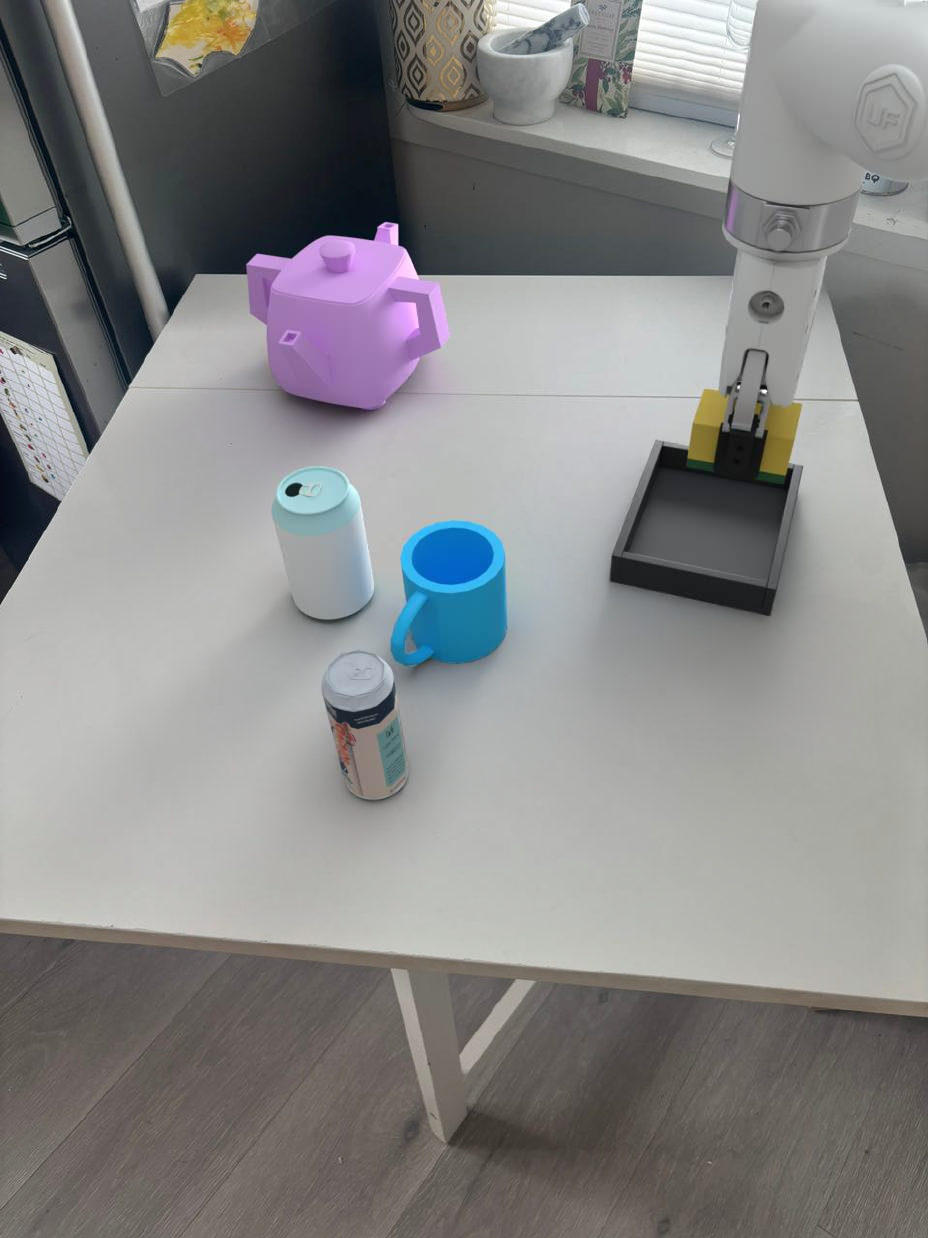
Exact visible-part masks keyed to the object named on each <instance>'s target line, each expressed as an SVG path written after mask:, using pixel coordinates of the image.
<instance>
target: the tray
mask: <svg viewBox="0 0 928 1238" xmlns="http://www.w3.org/2000/svg"><path fill="white" fill-rule="evenodd" d="M688 451H689V444H683V443H679V442H678V443H677V442H672V441H666V440H661V439H655V440H654V443H653V445H652V448H651V450H650V453H649V455H648V458H647V461H646V464H645V466H644V469H643V471H642V474H641V477H640V480H639V482H638V485H637V488H636V490H635V492H634V495H633V498H632V501H631V503H630V505H629V509H628V512H627V514H626V517H625V519H624V522H623V525H622V527H621V530H620V533H619V535H618V538H617V540H616V543H615V545H614V548H613V551H612V553H611V559H610V572H609V574H610V575H609V582H611V583H617V584H621V585H626V586H630V587H636V588H640V589H644V590H649V591H652V592H653V591H654V592H657V593H663V594H667V595H673V596H677V597H682V598H685V599H691V600H695V601H700V602H704V603H709V604H714V605H717V606H724V607H727V608H732V609H736V610H742V611H747V612H751V613H754V614H759V615H764V616H769V617H770V616H771V614H772V609H773V606H774V602H775V599H776V594H777V591H778V586H779V581H780V577H781V572H782V567H783V562H784V559H785V554H786V550H787V544H788V539H789V535H790V531H791V525H792V521H793V516H794V513H795V507H796V503H797V498H798V494H799V488H800V484H801V480H802V476H803V470H804V465H803V464H798V463H797V464H796V463H795V464H794V463H791V462H789V464H788V468H787V473H786V477H785V481H784V484H779V483H773V482H767V481H762V480H756V479H749V478H744V477H738V476H733V475H727V474H721V473H717V472H712V471H706V470H700V469H695V468H689V467H687V466H686V465H687V458H688Z"/></svg>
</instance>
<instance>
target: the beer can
mask: <svg viewBox="0 0 928 1238" xmlns="http://www.w3.org/2000/svg"><path fill="white" fill-rule="evenodd" d="M320 685H321V686H320V687H321V694H322V698H323V701H324V705H325V709H326V713H327V718H328V721H329V722H328V723H329V725H330V729H331V733H332V737H333V741H334V745H335V750H336V754H337V757H338V760H339V765H340V769H341V774H342V777H343V781H344V783H345V785H346V787H347V789H348V790H349V791H350V793H352V794H353V795H354V796H356V797H358V798H361V799H364V800H371V801H375V800H382V799H386V798H388V797H391V796H392V795H394V794H396V793H397V792H398V791H400V789H401V788H402V787H403V786H404V785H405V783H406V781H407V778H408V776H409V763H408V757H407V751H406V745H405V738H404V732H403V727H402V726H403V725H402V721H401V712H400V708H399V707H400V706H399V701H398V694H397V690H396V683H395V678H394V673H393V669H392V668H391V666H390V665H389V664H388V663H387V662H386V661H385V660H384V659H382V658H381V657H380V656H379V655H377V653H376V652H371V651H369V650H364V649H360V648H358V649H355V650H350V651H347V652H343V653H340V654H339V655H337V657H336V658H334V659H333V660H332V661H331V662H330V663H328V665H327V668H326V669H325V671H324V674H323V675H322V678H321V684H320Z"/></svg>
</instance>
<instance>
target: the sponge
mask: <svg viewBox="0 0 928 1238" xmlns="http://www.w3.org/2000/svg"><path fill="white" fill-rule="evenodd" d="M728 397H729V395H727V397H726V398H724V397H723V396H722V395H721V394H720V392H719V389H718V390H717V389H710V388H703V391H702V394H701V396H700V400H699V403H698V405H697V409H696V412H695V414H694V418H693V421H692V424H691V430H690V431H691V432H690V439H689V444H688V445H689V451H688V458H687V465H686V466H687V467H689V468H695V469H700V470H706V471H712V472H715V471H714V470H713V464H714V458H715V453H716V447H717V441H718V435H719V430H720V425H721V422H723V423H724V418H725V413H726V407H727V402H728ZM736 403H737V401H736ZM761 405H762V404H761V403H757V404H756V409H755V414H758V416H759V414H760V410H761ZM735 408H736V406H735ZM802 408H803V403H800V402H794V401H793V402H792V403H791V404H790V405H789V406H787V407H786V408H782V406H776V405H772V403H771V402H770V407H769V411H768V416H767V420H766V425H765V430H768V434H767V438H766V443H765V448H764V452H763V457H762V461H761V466H760V470H759V474H758V477H757V478H755V479H756V480H762V481H767V482H773V483H779V484H784V481H785V477H786V473H787V468H788V464H789V463H790V460H791V456H792V452H793V448H794V444H795V439H796V435H797V431H798V426H799V421H800V417H801V411H802ZM758 419H759V418H758Z"/></svg>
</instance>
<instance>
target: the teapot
mask: <svg viewBox="0 0 928 1238" xmlns="http://www.w3.org/2000/svg"><path fill="white" fill-rule="evenodd" d="M376 227H377V231H376V233H375V236H374V239H373V240H370V239H365V238H357V237H349V236H339V235H324V236H322V237H320V238H317V239H315V240H314V241H312V242H311V243H310V244H308V245H307V246H305V247H304V248H303V249H301V250H300V251H299V252H298V253H297V254H296V255H294V256H293V257H292V258H289V257H281V256H276V255H268V254H263V253H262V254H261V253H256V254H255V255H254V256H253V257H252V258H251V259H250V260H249V261H248V262H247V263H246V264H245V266H246V277H247V279H246V280H247V291H248V303H249V314H250V315H252V316H253V317H255V318H256V319H257V320H259V321H260V322H262V323H263V324H264V325H266V348H267V358H268V359H267V360H268V365H269V368H270V369H269V370H270V372H271V374H272V377H273V378H274V379H275V382H277V384H278V385H279V386H280V387H281V388H282V390H283V391H284V392H286V393H288V394H291V395H293V396H297V397H301V398H306V399H310V400H313V401H318V402H323V403H329V404H333V405H339V406H345V407H350V408H351V407H352V408H359V409H362V410H365V411H374V410H379V409H381V408H382V407H384V405H385V404H386V400H387V399H389V398H390V397H391V396H392V395H393V394H395V392H397V391H398V389H400V387H402V386H403V384H404V383H405V382H406V381H407V380H408V379H409V378H410V376H411V375H412V373H413V372H414V371H415V369H416V367H417V365H418V363H419V361H420V360H421V357H424V356H426V355H428V354H430V353H432V352H435V351H437V350H439V349H441V348H442V347H443V346H444V345H445V344H446V342H447V341H448V339H449V338H450V337H451V332H450V327H449V323H448V319H447V313H446V309H445V304H444V300H443V295H442V291H441V286H440V282H436V281H430V280H425V279H420V278H419V276H418V273H417V271H416V268H415V267H414V264H413V262H412V258H411V257H410V255H409V253H408V251H407V249H406V248H405V247H404V246H401V245H399V224H398V223H395V222H388V221H385V222H383V223H382V224H380V225H378V226H376Z"/></svg>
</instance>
